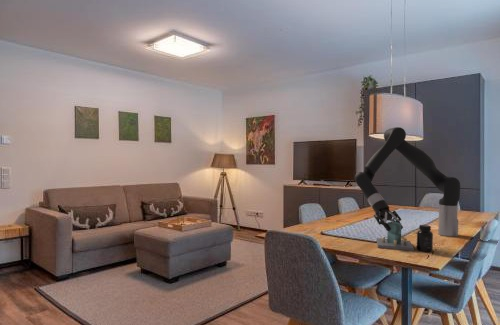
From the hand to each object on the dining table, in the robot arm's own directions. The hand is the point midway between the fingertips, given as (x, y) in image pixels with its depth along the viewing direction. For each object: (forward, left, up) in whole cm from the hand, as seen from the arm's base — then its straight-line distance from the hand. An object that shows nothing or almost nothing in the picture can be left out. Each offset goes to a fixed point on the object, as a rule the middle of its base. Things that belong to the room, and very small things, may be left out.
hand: (395, 229), depth 171 cm
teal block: (+1, -1, -7) cm, 7 cm away
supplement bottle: (-13, +4, -8) cm, 16 cm away
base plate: (0, -1, -8) cm, 8 cm away
